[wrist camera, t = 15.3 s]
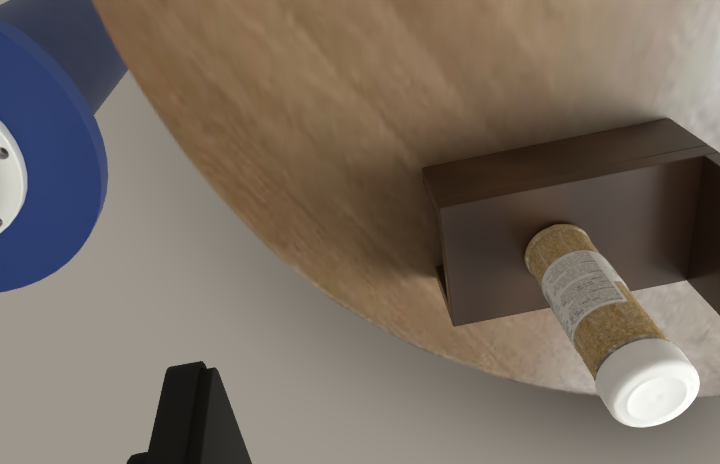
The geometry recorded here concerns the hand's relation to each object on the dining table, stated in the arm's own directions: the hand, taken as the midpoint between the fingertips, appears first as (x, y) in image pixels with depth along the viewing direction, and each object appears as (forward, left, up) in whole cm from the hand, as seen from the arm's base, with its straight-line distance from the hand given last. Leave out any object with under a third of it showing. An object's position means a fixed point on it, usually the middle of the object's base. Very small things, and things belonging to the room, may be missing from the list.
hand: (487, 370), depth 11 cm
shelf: (+12, -17, -32) cm, 38 cm away
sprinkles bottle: (+11, -17, -26) cm, 33 cm away
